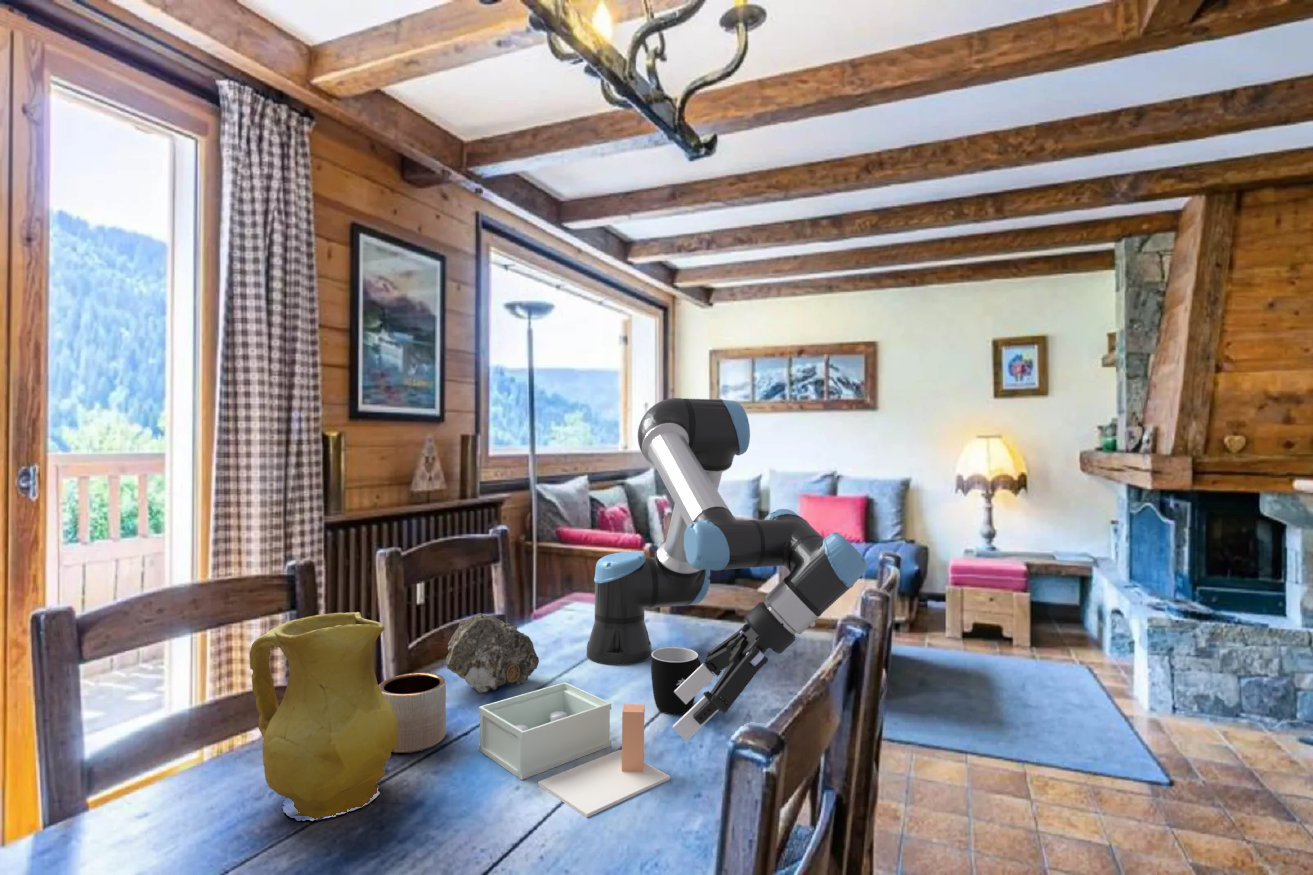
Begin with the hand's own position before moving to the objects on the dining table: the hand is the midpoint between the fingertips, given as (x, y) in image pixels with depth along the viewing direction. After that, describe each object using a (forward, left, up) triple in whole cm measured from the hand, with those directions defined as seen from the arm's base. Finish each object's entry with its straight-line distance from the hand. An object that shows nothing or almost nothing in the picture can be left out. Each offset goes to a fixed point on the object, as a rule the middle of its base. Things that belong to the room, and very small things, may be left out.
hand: (679, 714), depth 105 cm
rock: (+2, -53, -9) cm, 53 cm away
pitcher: (+42, -28, -9) cm, 51 cm away
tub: (+11, -20, -9) cm, 24 cm away
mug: (-18, -18, -9) cm, 27 cm away
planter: (+26, -37, -9) cm, 46 cm away
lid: (+10, -5, -9) cm, 15 cm away
